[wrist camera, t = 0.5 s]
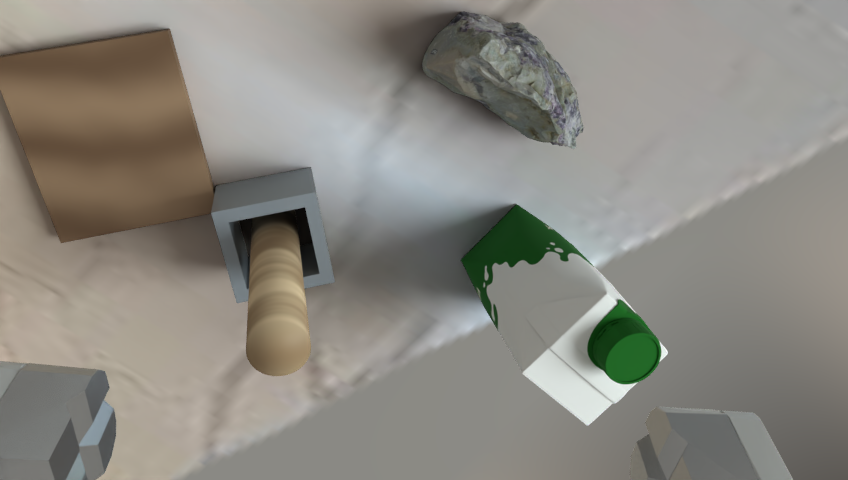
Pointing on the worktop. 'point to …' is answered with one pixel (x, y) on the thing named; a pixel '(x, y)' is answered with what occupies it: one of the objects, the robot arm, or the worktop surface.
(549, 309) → the milk carton
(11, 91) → the tray
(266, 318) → the dowel
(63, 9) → the worktop surface
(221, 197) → the open box
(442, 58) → the mineral rock
